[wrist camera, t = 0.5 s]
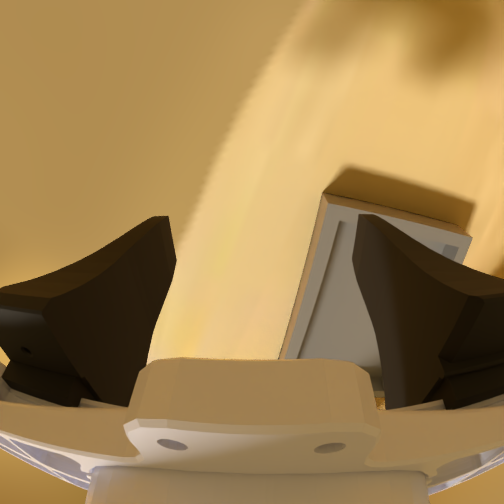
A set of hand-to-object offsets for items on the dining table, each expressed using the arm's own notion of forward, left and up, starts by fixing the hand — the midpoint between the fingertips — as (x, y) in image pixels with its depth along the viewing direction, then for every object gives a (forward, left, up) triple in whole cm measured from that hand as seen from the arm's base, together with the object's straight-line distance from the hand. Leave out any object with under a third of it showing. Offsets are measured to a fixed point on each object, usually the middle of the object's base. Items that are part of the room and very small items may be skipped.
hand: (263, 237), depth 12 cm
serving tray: (-9, -10, -10) cm, 17 cm away
